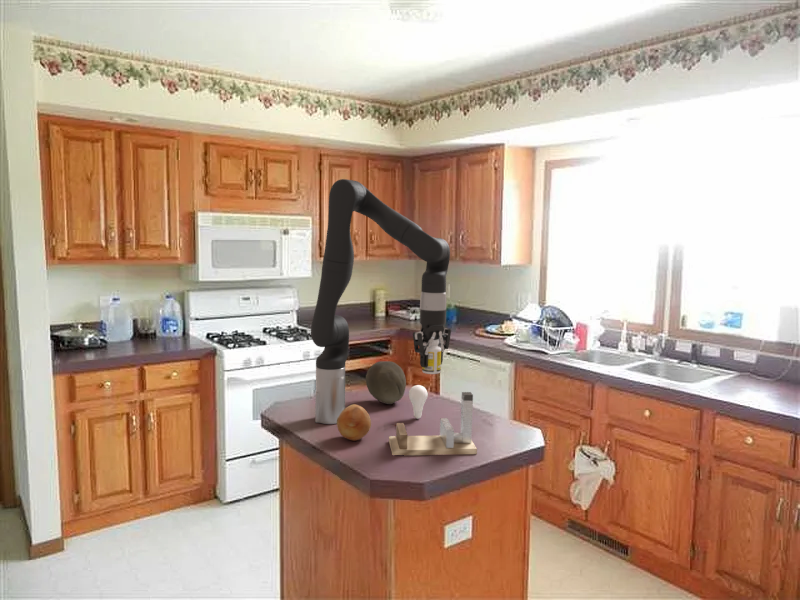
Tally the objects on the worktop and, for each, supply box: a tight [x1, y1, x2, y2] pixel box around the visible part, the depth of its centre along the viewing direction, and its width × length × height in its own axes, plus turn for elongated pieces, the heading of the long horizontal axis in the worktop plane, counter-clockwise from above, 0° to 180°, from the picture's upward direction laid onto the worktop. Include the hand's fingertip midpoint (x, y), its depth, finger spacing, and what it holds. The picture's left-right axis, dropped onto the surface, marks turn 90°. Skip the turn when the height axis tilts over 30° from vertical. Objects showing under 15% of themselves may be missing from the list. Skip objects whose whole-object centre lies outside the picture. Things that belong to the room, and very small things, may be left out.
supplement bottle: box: [421, 339, 442, 375], centre depth 167 cm, size 5×5×10 cm
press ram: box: [439, 391, 474, 448], centre depth 161 cm, size 8×10×14 cm
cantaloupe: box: [365, 360, 407, 405], centre depth 203 cm, size 14×14×15 cm
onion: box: [336, 403, 372, 442], centre depth 166 cm, size 10×10×10 cm
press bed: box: [388, 422, 478, 456], centre depth 161 cm, size 23×11×6 cm, turn 96°
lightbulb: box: [408, 384, 429, 420], centre depth 186 cm, size 6×6×11 cm
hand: (431, 365), depth 167 cm, fingers closed on supplement bottle, 5 cm apart
